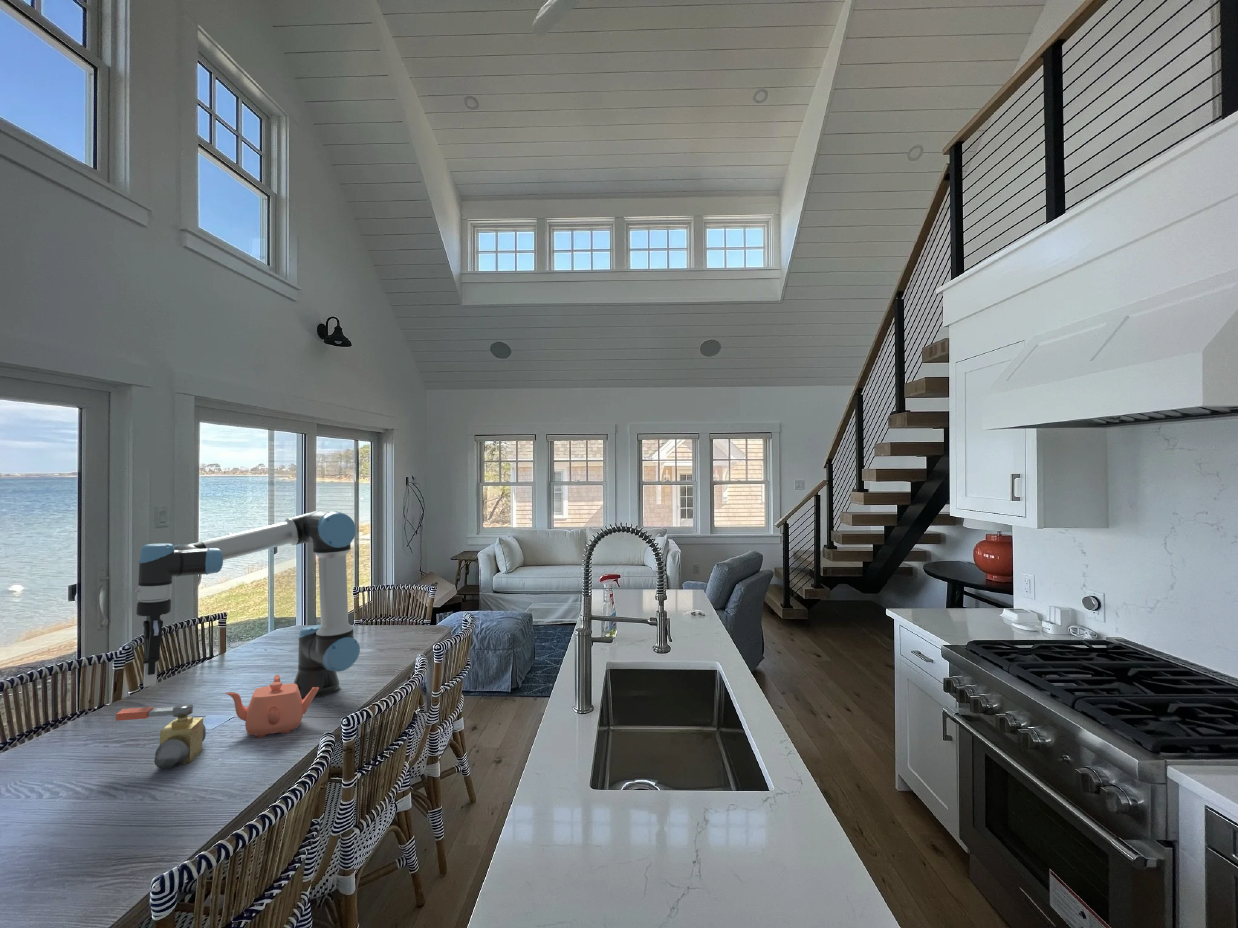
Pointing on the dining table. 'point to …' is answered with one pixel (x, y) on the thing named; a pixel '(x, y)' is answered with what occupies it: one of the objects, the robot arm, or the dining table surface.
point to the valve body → (180, 742)
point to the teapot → (273, 708)
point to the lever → (154, 712)
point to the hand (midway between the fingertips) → (149, 685)
